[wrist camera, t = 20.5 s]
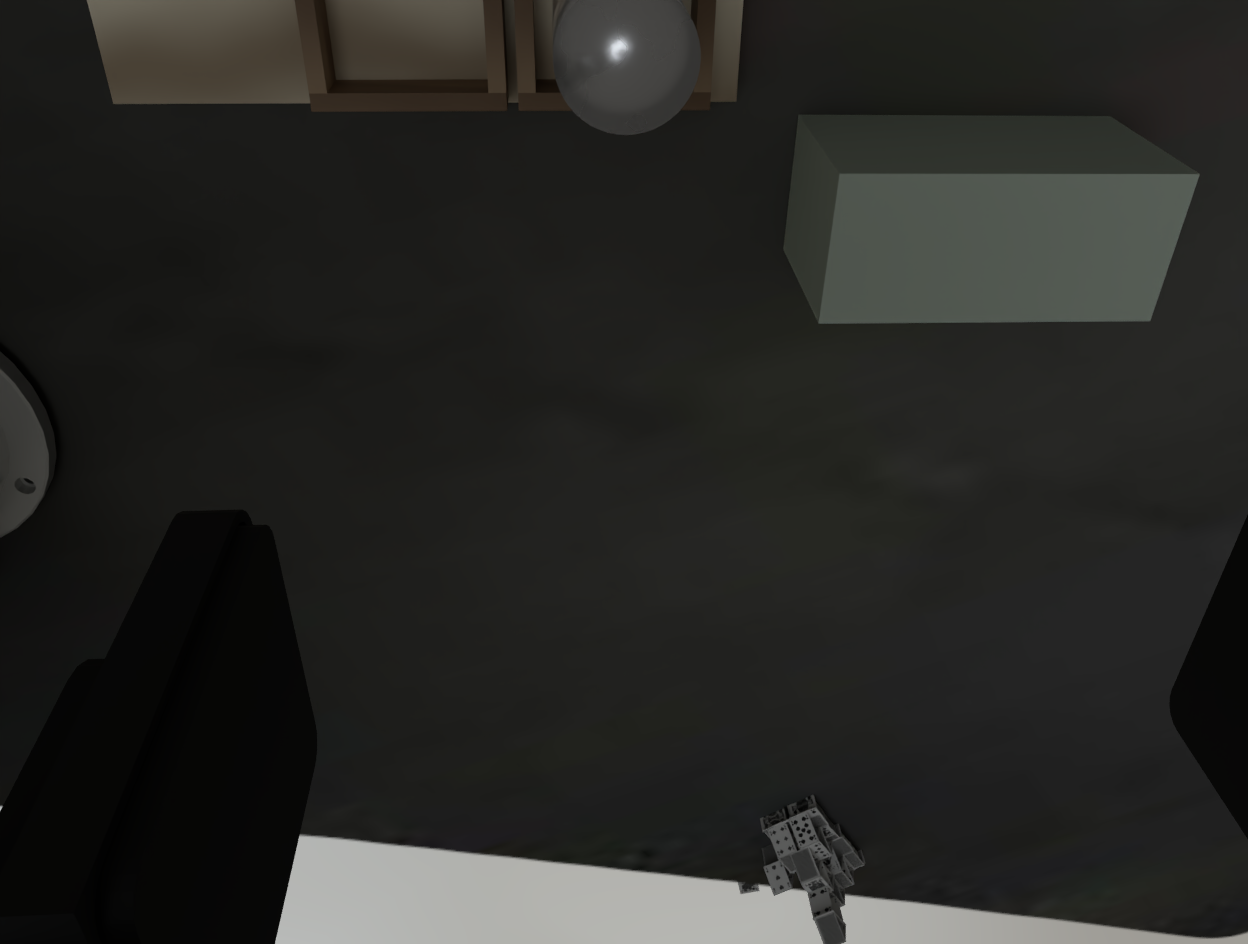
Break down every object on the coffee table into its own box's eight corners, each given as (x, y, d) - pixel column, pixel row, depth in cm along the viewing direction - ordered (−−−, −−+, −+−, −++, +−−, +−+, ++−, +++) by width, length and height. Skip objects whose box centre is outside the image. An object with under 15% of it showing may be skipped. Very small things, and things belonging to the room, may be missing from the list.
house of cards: (676, 827, 65) (690, 943, 59) (801, 773, 63) (830, 887, 57) (743, 897, 70) (763, 1011, 63) (862, 848, 67) (895, 961, 61)
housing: (1071, 247, 44) (1150, 321, 39) (782, 247, 44) (818, 323, 38) (1108, 115, 41) (1199, 174, 35) (798, 113, 40) (839, 173, 35)
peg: (667, 59, 37) (697, 134, 30) (553, 59, 37) (555, 135, 29) (671, -67, 35) (704, -21, 27) (550, -68, 34) (550, -21, 27)
